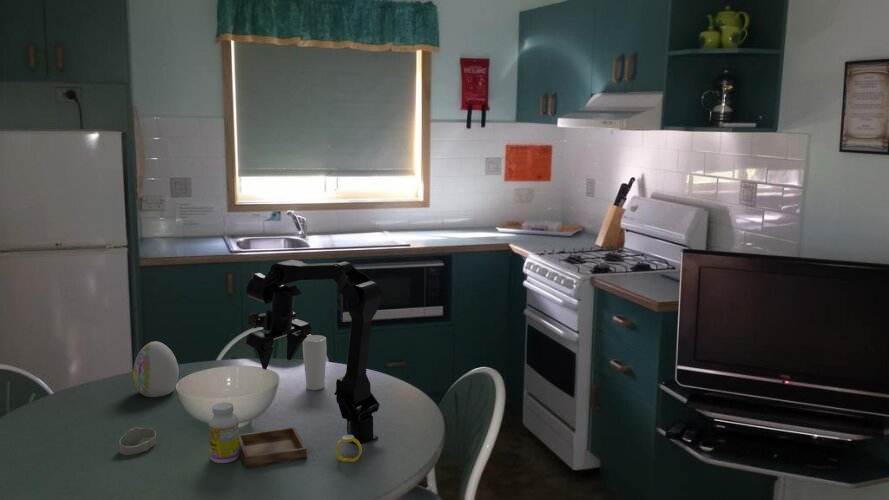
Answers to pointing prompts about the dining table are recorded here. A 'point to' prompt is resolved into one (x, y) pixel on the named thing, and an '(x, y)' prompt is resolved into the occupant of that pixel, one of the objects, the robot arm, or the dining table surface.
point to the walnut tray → (271, 447)
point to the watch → (348, 439)
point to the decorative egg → (155, 370)
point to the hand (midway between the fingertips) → (276, 364)
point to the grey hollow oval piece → (136, 441)
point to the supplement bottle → (223, 434)
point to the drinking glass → (315, 361)
